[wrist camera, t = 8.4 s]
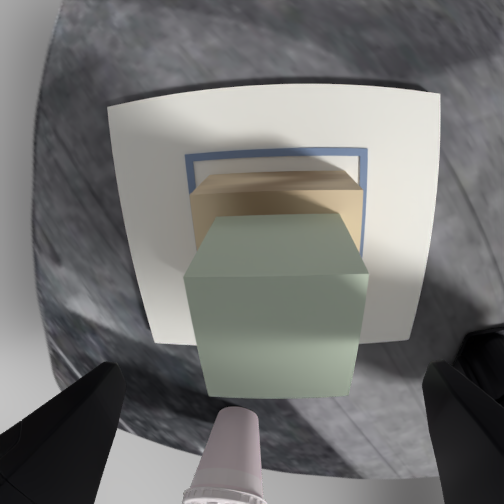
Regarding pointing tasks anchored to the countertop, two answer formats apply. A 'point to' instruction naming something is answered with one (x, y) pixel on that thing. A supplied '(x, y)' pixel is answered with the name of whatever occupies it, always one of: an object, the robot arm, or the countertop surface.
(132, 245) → the white mat
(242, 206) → the maple block
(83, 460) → the robot arm
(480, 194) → the countertop surface
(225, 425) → the smoothie
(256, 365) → the sage block
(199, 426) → the countertop surface
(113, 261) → the countertop surface
